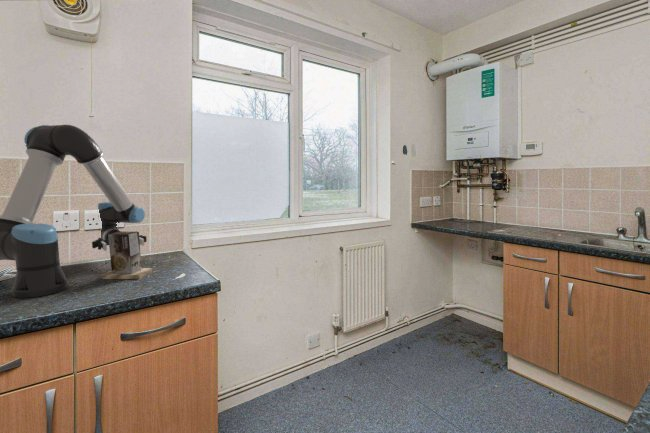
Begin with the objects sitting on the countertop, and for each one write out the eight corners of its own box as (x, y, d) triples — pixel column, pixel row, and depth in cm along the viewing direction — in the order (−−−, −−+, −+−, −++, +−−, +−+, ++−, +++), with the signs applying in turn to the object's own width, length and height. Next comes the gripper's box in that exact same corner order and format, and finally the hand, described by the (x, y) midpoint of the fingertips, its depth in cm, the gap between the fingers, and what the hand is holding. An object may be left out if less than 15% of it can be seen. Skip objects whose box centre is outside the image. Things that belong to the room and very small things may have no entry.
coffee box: (142, 269, 140) (139, 231, 138) (131, 274, 133) (128, 234, 131) (122, 269, 141) (119, 230, 139) (110, 273, 135) (107, 233, 132)
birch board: (101, 279, 132) (100, 275, 132) (116, 271, 142) (116, 268, 142) (139, 278, 133) (139, 275, 132) (152, 271, 143) (151, 268, 142)
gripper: (144, 241, 163) (157, 249, 147) (81, 249, 146) (89, 258, 131) (143, 226, 162) (156, 232, 147) (79, 232, 145) (87, 239, 130)
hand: (124, 244), depth 139 cm, fingers open, 13 cm apart
